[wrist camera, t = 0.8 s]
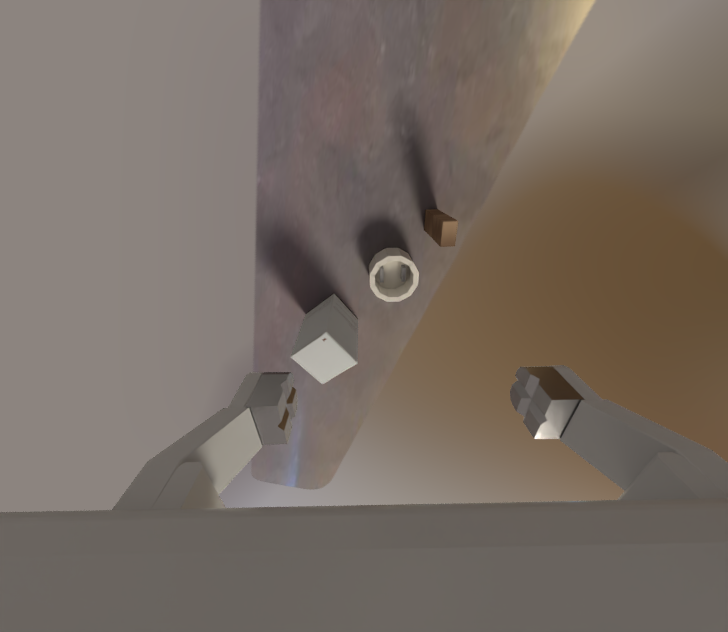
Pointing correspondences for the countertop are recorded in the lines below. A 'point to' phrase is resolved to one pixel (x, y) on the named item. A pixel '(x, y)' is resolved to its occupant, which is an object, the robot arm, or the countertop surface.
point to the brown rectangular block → (441, 227)
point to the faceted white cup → (393, 275)
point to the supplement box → (327, 340)
